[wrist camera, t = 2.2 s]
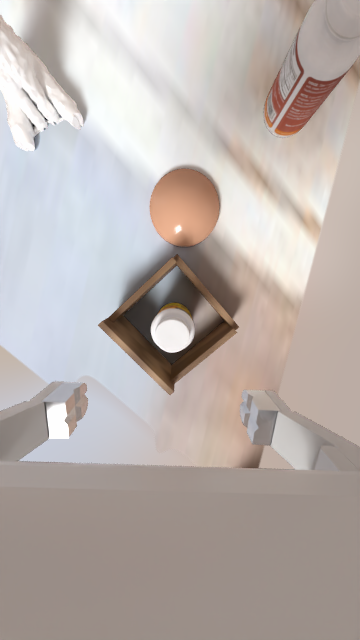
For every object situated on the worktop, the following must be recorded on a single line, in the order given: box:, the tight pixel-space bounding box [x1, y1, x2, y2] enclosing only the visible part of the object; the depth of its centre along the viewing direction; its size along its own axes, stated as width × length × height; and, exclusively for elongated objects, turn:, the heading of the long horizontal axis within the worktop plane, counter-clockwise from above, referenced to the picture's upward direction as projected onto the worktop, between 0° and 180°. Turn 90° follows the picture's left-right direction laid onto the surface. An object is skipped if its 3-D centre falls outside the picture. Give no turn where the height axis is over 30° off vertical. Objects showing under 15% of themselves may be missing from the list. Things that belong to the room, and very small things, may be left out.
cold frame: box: [98, 254, 239, 395], centre depth 26 cm, size 14×14×7 cm
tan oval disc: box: [150, 169, 219, 247], centre depth 26 cm, size 10×10×1 cm
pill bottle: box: [264, 0, 360, 138], centre depth 19 cm, size 6×6×11 cm
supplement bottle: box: [151, 302, 195, 353], centre depth 25 cm, size 6×6×10 cm
